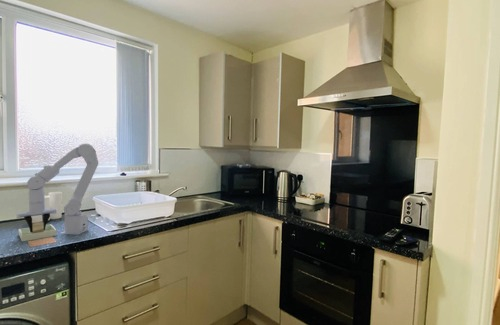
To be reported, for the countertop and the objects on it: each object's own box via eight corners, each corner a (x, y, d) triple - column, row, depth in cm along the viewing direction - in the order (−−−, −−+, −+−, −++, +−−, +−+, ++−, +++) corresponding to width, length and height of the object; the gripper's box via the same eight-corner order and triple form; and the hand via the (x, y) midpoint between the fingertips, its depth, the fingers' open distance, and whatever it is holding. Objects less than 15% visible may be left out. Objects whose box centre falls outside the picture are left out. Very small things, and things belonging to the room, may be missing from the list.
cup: (45, 219, 156) (44, 194, 155) (54, 221, 152) (53, 196, 151) (27, 223, 148) (27, 197, 147) (36, 225, 145) (35, 198, 144)
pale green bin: (56, 236, 128) (56, 229, 128) (21, 242, 119) (21, 235, 119) (51, 230, 137) (51, 224, 137) (18, 235, 128) (18, 229, 128)
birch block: (43, 235, 128) (43, 222, 128) (32, 237, 126) (32, 224, 125) (42, 233, 131) (42, 220, 131) (31, 234, 128) (31, 222, 128)
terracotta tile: (56, 242, 120) (56, 241, 120) (30, 248, 113) (30, 246, 113) (52, 237, 126) (52, 236, 126) (27, 242, 120) (27, 241, 120)
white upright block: (60, 216, 164) (60, 191, 163) (64, 218, 160) (64, 192, 159) (47, 218, 159) (46, 192, 158) (50, 220, 154) (50, 194, 154)
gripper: (54, 198, 135) (54, 226, 136) (15, 202, 125) (16, 231, 126) (57, 201, 130) (57, 229, 131) (17, 205, 120) (18, 235, 121)
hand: (37, 230), depth 128 cm, fingers closed on birch block, 4 cm apart
